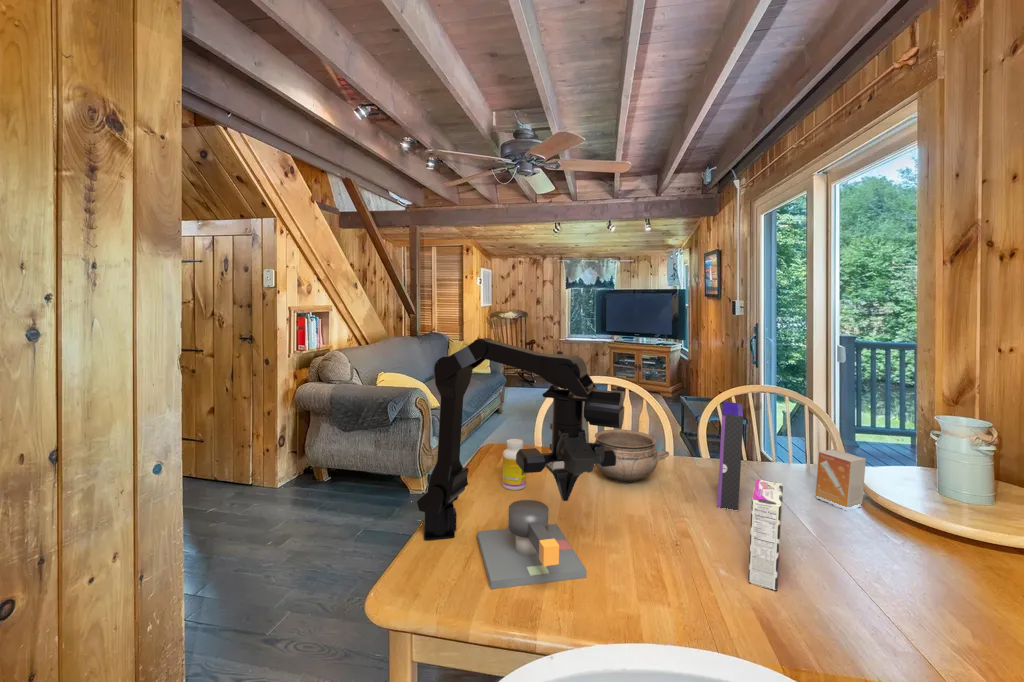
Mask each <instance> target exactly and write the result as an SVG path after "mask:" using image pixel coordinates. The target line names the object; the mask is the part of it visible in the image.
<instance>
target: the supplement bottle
mask: <svg viewBox="0 0 1024 682" xmlns="http://www.w3.org/2000/svg"><path fill="white" fill-rule="evenodd" d="M506 447H507V448H505V449H504V450H503V451H502V487H503V488H504V489H506V490H510V491H518V490H523V489H524V488H525V487H526V486H527V473H525V472H523V471H522V469H521V468H520V467H519V466H518V464H517V463H516V454H517V452H518V451H519V449H524V440H522V439H520V438H510V439H507V440H506Z"/></svg>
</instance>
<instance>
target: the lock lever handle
mask: <svg viewBox="0 0 1024 682" xmlns="http://www.w3.org/2000/svg"><path fill="white" fill-rule="evenodd" d="M507 512H508V514H507V515H508V516H507V517H508V519H507V522H508V523H507V524H508V525H507V526H508V527H507V528H508V529H509V531H510V532H511V533H512V534H514V535H516V536H519V537H524V538H529V540H530V542H531V543H532V545H533V547H534V548H535V550H536V552H537V553H538V555H539V560H540V561H541V563H542V565H543V566H550V565H557V564H559V544H558V543H557V542H556V540H555V539H552V537H551V536H550V534H549V533H548V532H547V531H548V525H549V506H548V505H547V504H546V503H544V502H542V501H539V500H534V499H521V500H517V501H514V502H512V503H510V504H509V505H508V510H507Z"/></svg>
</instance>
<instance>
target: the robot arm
mask: <svg viewBox="0 0 1024 682" xmlns="http://www.w3.org/2000/svg"><path fill="white" fill-rule="evenodd" d="M486 360H488V361H490V362H493V363H494V362H495V363H498V364H501V365H505V366H508V367H512V368H515V369H519V370H522V371H526V372H529V373H533V374H534V375H537V376H539V377H540V378H541V379H542V380H544V381H545V382H546V383H549V384H551V385H550V386H549V388H548V389H547V390H546V391H544V393H542V394H541V395H542V397H543V398H549V399H552V421H551V422H552V423H550V424H549V429H550V430H551V431H552V432H551V443H549V450H550V451H551V452H546V453H543V452H541V451H540V450H539V449H538V448H536V447H531V448H523V449H519V451H518V452H517V454H516V463H517V464H518V466H519V467H520V468H521V469H522V471H523V472H525V473H526V474H533V473H541V472H543V470H544V469H545V468H546V469H547V470H548V471H549V473H551V474H552V475H553V479H554V480H555V484H556V487H557V488H558V492H559V495H560V498H561V500H562V501H563V502H568V501H569V498H570V496H571V494H572V491H573V489H574V487H575V484H576V482H577V480H578V479H579V477H580V476H581V475H582V474H584V473H592V472H594V467H595V464H600V465H601V466H602V467H606V466H615V465H616V454H615V452H614V451H613V450H612V449H610V448H609V447H607V446H606V445H604V444H602V443H601V442H600V443H595V442H587V439H586V430H585V429H584V428H583V418H584V419H585V422H587V423H588V424H589V425H590V426H596V427H604V428H610V429H611V428H613V429H621V430H622V428H623V424H624V418H625V417H624V416H625V406H624V399H623V391H622V390H605V389H598V387H597V385H596V384H595V382H594V381H593V379H592V378H591V376H590V375H589V373H588V367H587V364H586V362H585V361H584V359H583V358H581V357H580V356H578V355H573V354H572V355H571V354H561V353H560V354H559V353H558V354H557V353H542V352H540V351H539V352H538V351H535V350H531V349H528V348H524V347H520V346H515V345H512V344H508V343H505V342H501V341H497V340H494V339H493V338H491V337H483V338H477V339H475V340H473V342H472V343H470V344H468V345H467V346H465V347H463V348H462V349H461V348H460V350H457V351H456V352H454V353H452V354H451V355H444V356H442V357H439V358H438V360H436V361H435V363H434V367H433V370H434V371H433V374H434V385H435V387H436V389H437V392H438V393H439V396H440V403H439V405H440V406H439V407H440V408H439V420H438V421H439V422H438V423H439V424H438V425H439V426H438V441H437V455H436V456H437V458H436V459H437V460H436V463H435V465H434V467H433V469H432V471H431V473H430V476H429V481H428V486H427V489H426V490H427V492H425V493H424V494H423V495H422V496H421V497H419V499H418V500H417V501H416V504H417V507H418V510H419V512H423V513H424V515H423V517H424V521H425V522H424V521H423V523H424V524H423V539H424V541H432V540H433V541H434V540H442V539H452V538H455V536H456V535H455V531H457V510H456V507H455V506H454V502H455V501H457V500H458V499H459V496H460V495H461V494H463V493H464V491H465V490H466V487H467V486H469V482H468V474H469V467H463V464H462V462H461V460H460V458H461V457H460V456H461V441H462V440H461V439H462V424H463V411H464V409H463V407H464V397H465V393H466V392H467V389H468V387H469V386H470V383H471V379H472V375H473V370H474V369H475V368H477V367H479V366H480V365H481V364H483V362H484V361H486Z"/></svg>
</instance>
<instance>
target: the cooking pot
mask: <svg viewBox="0 0 1024 682" xmlns="http://www.w3.org/2000/svg"><path fill="white" fill-rule="evenodd" d="M594 438H595V441H594V443H600V442H601V443H602V444H604V445H606V446H607V447H609V448H610V449H612V450H613V451H614V452H615V454H616V465H615V466H606V467H602V466H601V465H600V464H594V466H595V467H596V468H597V469H598V470H599V471H600V472H601V473H603V474H605V475H606V476H608V477H610V478H611V479H612V480H614V481H616V482H619V483H626V484H628V483H633V482H635V481H638V480H640V479H643V478H645V477H648V476H649V475H651V474H652V473H653V472H654V470H656V468H657V465H658V462H659V461H661V460H663V459H666V458H668V457H669V456H670V452H669V451H657V448H656V445H655V444H656V442H657V439H656V438H655V437H654V436H653V435H650V434H648V433H645V432H642V431H637V430H631V429H622V428H621V429H618V428H613V429H605V430H600V431H597V432H595V433H594Z"/></svg>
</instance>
